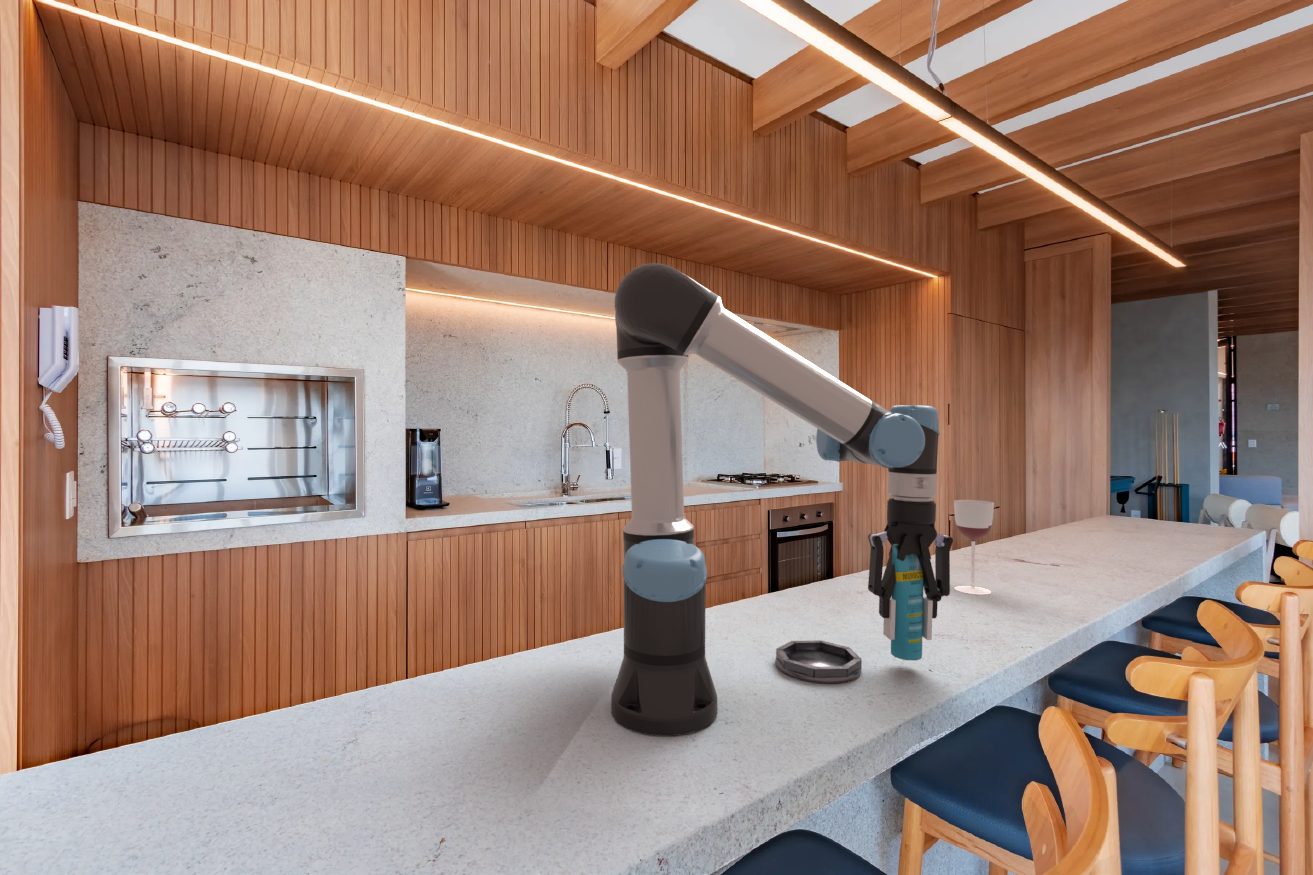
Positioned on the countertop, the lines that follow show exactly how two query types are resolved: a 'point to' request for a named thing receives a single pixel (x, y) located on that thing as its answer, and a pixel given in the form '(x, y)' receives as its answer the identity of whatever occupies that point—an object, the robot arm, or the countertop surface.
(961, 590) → the wineglass
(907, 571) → the tube
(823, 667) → the octagonal bowl
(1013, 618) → the countertop surface
